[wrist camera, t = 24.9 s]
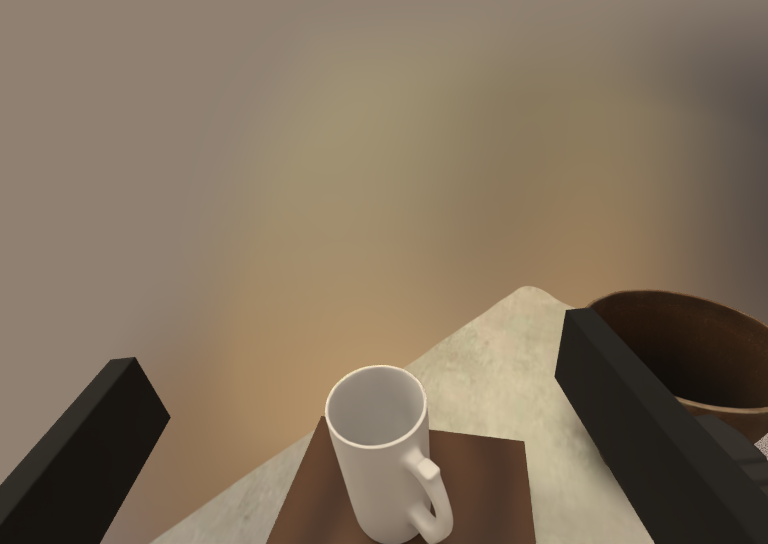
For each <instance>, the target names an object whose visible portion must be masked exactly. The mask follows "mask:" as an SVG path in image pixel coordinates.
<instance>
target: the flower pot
mask: <svg viewBox="0 0 768 544" xmlns="http://www.w3.org/2000/svg"><path fill="white" fill-rule="evenodd" d="M590 307H592V308H593V309H594V310H595V311H596V312H597V314H598V315H599V316H600V317H601V318H602V319H603V320H604V321H605V322H606V323H607V324H608V325H609V326H610V328H611V329H612V330H613V331H614V332H615V333H616V334H617V335H618V336H619V337H620V338H621V339H622V340H623V341H624V343H625V344H626V345H627V346H628V347H629V348H630V349H631V350H632V351H633V352H634V353H635V354H636V355H637V357H638V358H639V359H640V360H641V361H642V362H643V363H644V364H645V365H646V366H647V367H648V368H649V369H650V370H651V372H652V373H653V374H654V375H655V376H656V377H657V378H658V379H659V380H660V381H661V382H662V383H663V384H664V386H665V387H666V388H667V389H668V390H669V391H670V392H671V393H672V394H673V395H674V396H675V397H676V398H677V399H678V401H679V402H680V403H681V404H682V405H683V406H684V407H685V408H686V409H687V410H688V411H689V412H690V413H691V415H692V416H700V415H710V414H713V415H715V416H716V417H718V418H719V419H721V420H722V421H724V422H726V423H727V424H729V425H730V426H732V427H733V428H735V429H736V430H738V431H740V432H741V433H742V434H743V435H745V436H746V437H747V438H748V439H749V440H750V441H751V442H752V443H753V444H755V443H756V442H757V441H759V440H760V439H761V438H762V437H764V436H765V435H766V434H767V433H768V325H766V324H765V323H763V322H761V321H760V320H758V319H756V318H754V317H752V316H750V315H748V314H746V313H743V312H741V311H739V310H737V309H734V308H732V307H729V306H726V305H723V304H721V303H718V302H715V301H711V300H708V299H704V298H700V297H696V296H692V295H688V294H682V293H677V292H670V291H661V290H627V291H619V292H614V293H611V294H607V295H604V296H602V297H599V298H597V299H596V300H594V301H592V302H591V303H589V304H588V305H587V306H586V307H585V308H590ZM599 453H600V451H599ZM600 455H601V453H600ZM601 457H602V459H603V460H604V458H603V456H602V455H601ZM604 462H605V463H606V461H605V460H604ZM606 465H607V463H606ZM607 466H608V465H607ZM608 467H609V466H608Z"/></svg>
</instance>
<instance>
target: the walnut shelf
mask: <svg viewBox="0 0 768 544" xmlns="http://www.w3.org/2000/svg"><path fill="white" fill-rule="evenodd" d="M429 453H430V460H431V461H432V462H433V463H434V464H435V465H437V466H438V467H439V469H440V476H441V479H442V482H443V484H444V487H445V490H446V493H447V496H448V499H449V502H450V506H451V510H452V515H453V528H452V531H451V533H450V534H449V535H448V536H447V537H446V538H445V539H443V540H442V541H440V542H438V543H437V544H536V541H535V532H534V523H533V515H532V506H531V497H530V488H529V479H528V471H527V462H526V453H525V444H524V441H517V440H509V439H501V438H493V437H485V436H477V435H469V434H461V433H453V432H445V431H437V430H429ZM430 513H431V514H432V515H433V516H434V517H435V518H436V513H435V509H434V506H433V504H432V502H431V508H430ZM266 544H382V543H379V542H377V541H375V540H373V539H372V538H370V537H369V536H368V535H367V534H366V533H365V532H364V531H363V530H362V528H361V527H360V525H359V523H358V521H357V518H356V515H355V512H354V509H353V506H352V503H351V500H350V497H349V494H348V490H347V487H346V484H345V481H344V477H343V474H342V471H341V468H340V465H339V462H338V458H337V455H336V452H335V449H334V446H333V442H332V439H331V436H330V432H329V428H328V424H327V421H326V417H324V416H321V418H320V421H319V423H318V425H317V428H316V430H315V432H314V434H313V437H312V439H311V441H310V444H309V446H308V448H307V451H306V453H305V455H304V457H303V460H302V462H301V464H300V467H299V469H298V471H297V473H296V476H295V478H294V480H293V483H292V485H291V487H290V490H289V492H288V494H287V496H286V499H285V501H284V503H283V506H282V508H281V510H280V512H279V515H278V517H277V519H276V522H275V524H274V526H273V528H272V531H271V533H270V535H269V538H268V540H267V542H266ZM401 544H428V543H427V542H426V540H425V539H424V538H423V537H422V535H421V534H420V533H418V534H417V535H416V536H415V537H414V538H412V539H411V540H409V541H407V542H404V543H401Z"/></svg>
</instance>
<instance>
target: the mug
mask: <svg viewBox="0 0 768 544" xmlns="http://www.w3.org/2000/svg"><path fill="white" fill-rule="evenodd" d="M325 417H326V421H327V424H328V428H329V432H330V436H331V439H332V442H333V446H334V449H335V452H336V455H337V458H338V462H339V465H340V468H341V471H342V474H343V477H344V481H345V484H346V487H347V490H348V494H349V497H350V500H351V503H352V506H353V509H354V512H355V515H356V518H357V521H358V523H359V525H360V527H361V528H362V530H363V531H364V532H365V533H366V534H367V535H368V536H369V537H370V538H372V539H373V540H375V541H377V542H379V543H382V544H401V543H404V542H407V541H409V540H411V539H412V538H414V537H415V536H416V535H417V534H418V533H420V534H421V535H422V537H423V538H424V539H425V540H426V542H427V543H428V544H437V543H438V542H440V541H442V540H443V539H445V538H446V537H447V536H448V535H449V534H450V533H451V531H452V528H453V515H452V510H451V506H450V502H449V499H448V496H447V493H446V490H445V487H444V484H443V482H442V479H441V476H440V469H439V467H438V466H437V465H435V464H434V463H433V462H432V461H431V460H430V453H429V423H428V408H427V396H426V392H425V390H424V387H423V386H422V384H421V383H420V381H419V380H418V379H417V378H416V377H415V376H413V375H412V374H411V373H409V372H407V371H405V370H403V369H401V368H398V367H394V366H388V365H374V366H368V367H364V368H361V369H358V370H355V371H353V372H351V373H349V374H348V375H346V376H345V377H344V378H342V379H341V380H340V381H339V382H338V383H337V384H336V385H335V386H334V388H333V389H332V390H331V392H330V394H329V396H328V398H327V401H326V406H325ZM431 502H432V504H433V506H434V509H435V513H436V518H435V517H434V516H433V515H432V514H431V513H430V508H431Z"/></svg>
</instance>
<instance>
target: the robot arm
mask: <svg viewBox="0 0 768 544" xmlns="http://www.w3.org/2000/svg"><path fill="white" fill-rule="evenodd" d="M555 378H556V380H557V382H558V383H559V385H560V387H561V388H562V390H563V392H564V393H565V395H566V397H567V398H568V400H569V402H570V403H571V405H572V407H573V408H574V410H575V412H576V413H577V415H578V417H579V418H580V420H581V422H582V423H583V425H584V427H585V428H586V430H587V432H588V433H589V435H590V437H591V438H592V440H593V442H594V443H595V445H596V447H597V448H598V450H599V451H600V453H601V455H602V456H603V458H604V460H605V461H606V463H607V465H608V466H609V468H610V470H611V471H612V473H613V475H614V476H615V478H616V480H617V481H618V483H619V485H620V486H621V488H622V490H623V491H624V493H625V495H626V496H627V498H628V500H629V501H630V503H631V505H632V506H633V508H634V510H635V511H636V513H637V515H638V516H639V518H640V520H641V521H642V523H643V525H644V526H645V528H646V530H647V531H648V533H649V535H650V536H651V538H652V540H653V541H654V543H655V544H768V460H767V459H766V456H765V455H764V454H763V453H762V452H761V451H760V450H759V449H758V448H757V447H756V446H755V445H754V444H753V443H752V442H751V441H750V440H749V439H748V438H747V437H746V436H745V435H743V434H742V433H741V432H740V431H738V430H736V429H735V428H733V427H732V426H730V425H729V424H727V423H726V422H724V421H722V420H721V419H719V418H718V417H716V416H715V415H713V414H710V415H700V416H692V415H691V413H690V412H689V411H688V410H687V409H686V408H685V407H684V406H683V405H682V404H681V403H680V402H679V401H678V399H677V398H676V397H675V396H674V395H673V394H672V393H671V392H670V391H669V390H668V389H667V388H666V387H665V386H664V384H663V383H662V382H661V381H660V380H659V379H658V378H657V377H656V376H655V375H654V374H653V373H652V372H651V370H650V369H649V368H648V367H647V366H646V365H645V364H644V363H643V362H642V361H641V360H640V359H639V358H638V357H637V355H636V354H635V353H634V352H633V351H632V350H631V349H630V348H629V347H628V346H627V345H626V344H625V343H624V341H623V340H622V339H621V338H620V337H619V336H618V335H617V334H616V333H615V332H614V331H613V330H612V329H611V328H610V326H609V325H608V324H607V323H606V322H605V321H604V320H603V319H602V318H601V317H600V316H599V315H598V314H597V312H596V311H595V310H594V309H593V308H592V307H590V308H582V309H571V310H566V313H565V319H564V324H563V330H562V336H561V342H560V348H559V354H558V359H557V365H556V371H555ZM170 418H171V417H170V415H169V414H168V412H167V410H166V409H165V407H164V405H163V404H162V402H161V400H160V398H159V397H158V395H157V393H156V392H155V390H154V388H153V387H152V385H151V383H150V381H149V380H148V378H147V376H146V375H145V373H144V371H143V370H142V368H141V366H140V365H139V363H138V361H137V359H136V358H135V357H131V358H122V359H113V360H110V361H109V362H108V363H107V364H106V366H105V367H104V368H103V369H102V370H101V371H100V372H99V374H98V375H97V376H96V377H95V378H94V379H93V380H92V382H91V383H90V384H89V385H88V386H87V387H86V388H85V390H84V391H83V392H82V393H81V394H80V395H79V397H77V399H76V400H75V401H74V402H73V403H72V404H71V405H70V407H69V408H68V409H67V410H66V411H65V412H64V413H63V415H62V416H61V417H60V418H59V419H58V420H57V421H56V423H55V424H54V425H53V426H52V427H51V428H50V430H49V431H48V432H47V433H46V434H45V435H44V436H43V437H42V439H41V440H40V441H39V442H38V443H37V444H36V445H35V446H34V448H33V449H32V450H31V451H30V452H29V453H28V454H27V456H26V457H25V458H24V459H23V460H22V461H21V462H20V464H19V465H18V466H17V467H16V468H15V469H14V470H13V472H12V473H11V474H10V475H9V476H8V477H7V478H6V479H5V481H4V482H3V483H2V484H1V485H0V544H100V542H101V540H102V539H103V537H104V535H105V533H106V532H107V530H108V528H109V526H110V524H111V523H112V521H113V519H114V517H115V516H116V514H117V512H118V510H119V508H120V507H121V505H122V503H123V501H124V500H125V498H126V496H127V494H128V492H129V491H130V489H131V487H132V485H133V483H134V482H135V480H136V478H137V476H138V474H139V473H140V471H141V469H142V467H143V466H144V464H145V462H146V460H147V459H148V457H149V455H150V453H151V452H152V450H153V448H154V446H155V444H156V443H157V441H158V439H159V437H160V435H161V434H162V432H163V430H164V428H165V427H166V425H167V423H168V421H169V419H170Z"/></svg>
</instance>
